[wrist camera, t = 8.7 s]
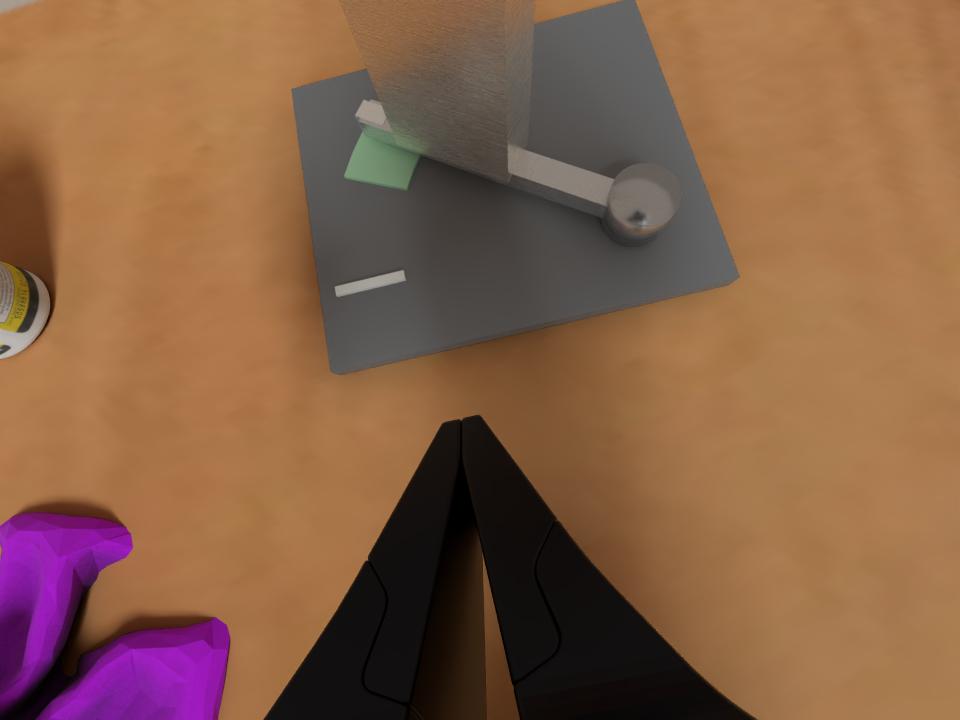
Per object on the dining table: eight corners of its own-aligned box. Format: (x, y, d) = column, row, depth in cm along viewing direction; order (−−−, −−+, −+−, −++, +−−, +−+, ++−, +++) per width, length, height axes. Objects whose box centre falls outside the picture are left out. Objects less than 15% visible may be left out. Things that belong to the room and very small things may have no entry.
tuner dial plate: (627, 13, 23) (634, -9, 22) (728, 284, 19) (742, 275, 18) (300, 100, 24) (289, 83, 22) (339, 375, 20) (329, 371, 19)
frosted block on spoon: (673, 202, 19) (1025, -312, 6) (651, 255, 18) (979, -170, 5) (381, 105, 21) (174, -405, 8) (356, 150, 21) (99, -311, 8)
